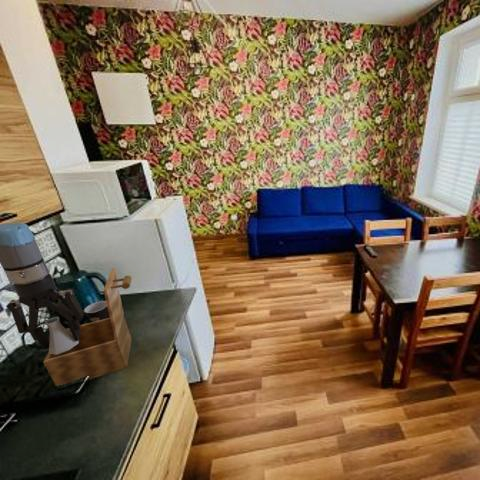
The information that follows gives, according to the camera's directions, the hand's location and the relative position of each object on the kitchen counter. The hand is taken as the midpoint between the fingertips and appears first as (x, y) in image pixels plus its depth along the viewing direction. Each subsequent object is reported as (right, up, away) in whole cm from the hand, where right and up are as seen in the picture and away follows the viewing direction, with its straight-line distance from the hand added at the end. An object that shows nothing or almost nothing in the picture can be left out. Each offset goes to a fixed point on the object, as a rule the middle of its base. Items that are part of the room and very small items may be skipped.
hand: (62, 342), depth 82 cm
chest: (-6, -16, +21) cm, 27 cm away
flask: (0, -2, +1) cm, 2 cm away
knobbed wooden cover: (+3, +8, +16) cm, 19 cm away
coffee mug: (-19, -8, +40) cm, 45 cm away
